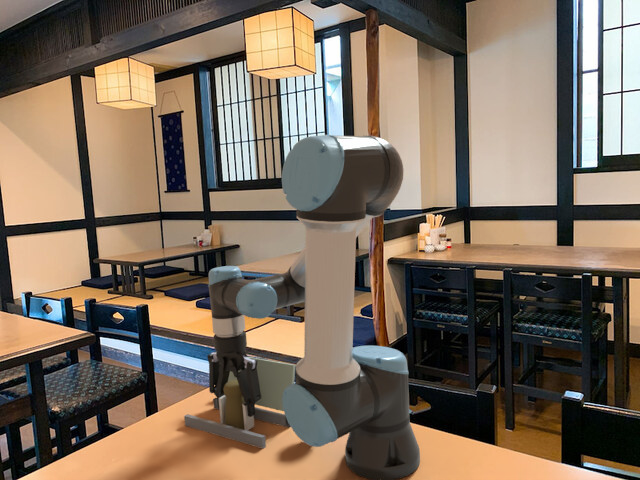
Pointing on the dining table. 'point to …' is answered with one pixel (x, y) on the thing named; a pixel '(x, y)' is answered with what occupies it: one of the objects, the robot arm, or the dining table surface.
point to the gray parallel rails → (235, 432)
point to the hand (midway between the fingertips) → (237, 424)
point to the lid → (272, 382)
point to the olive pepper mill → (234, 405)
